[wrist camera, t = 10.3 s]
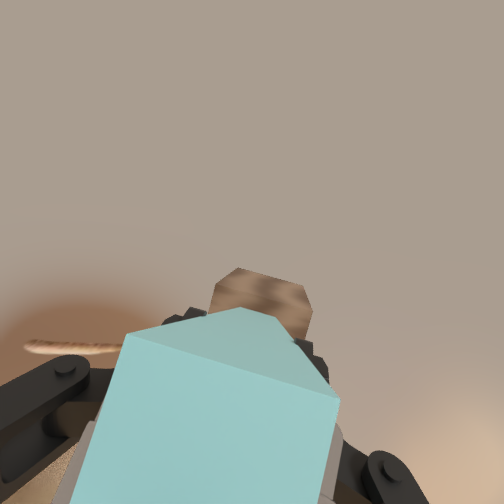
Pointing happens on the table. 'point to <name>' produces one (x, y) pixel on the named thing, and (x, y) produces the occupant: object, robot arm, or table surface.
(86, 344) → the table surface
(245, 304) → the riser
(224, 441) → the teal bar
